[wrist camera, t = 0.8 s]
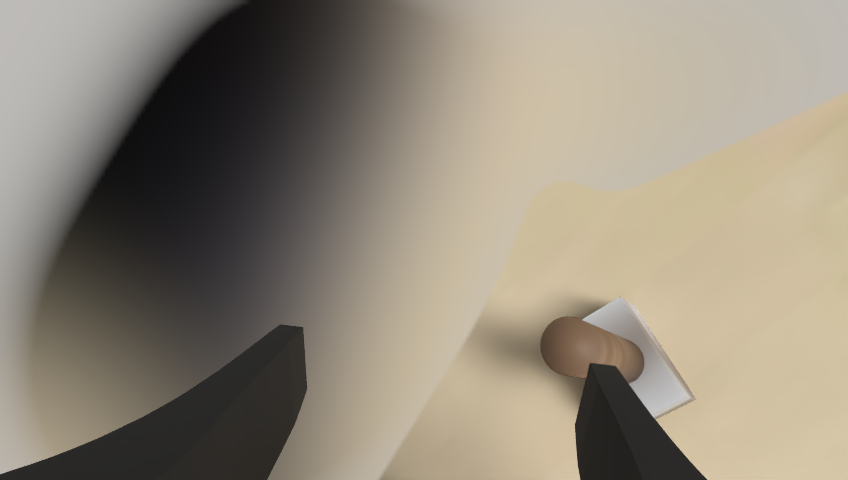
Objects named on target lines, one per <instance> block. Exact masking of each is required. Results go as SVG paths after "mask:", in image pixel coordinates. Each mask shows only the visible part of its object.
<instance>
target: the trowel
mask: <svg viewBox="0 0 848 480" xmlns="http://www.w3.org/2000/svg"><path fill="white" fill-rule="evenodd" d="M541 353H542V356H543V358H544V360H545V362H546V364H547V365H548V366H549V367H550V368H551V369H552V370H554V371H555V372H557V373H559V374H562V375H567V376H573V377H580V378H586V377H587V372H588V368H589V364H590V363H596V364H605V365H613V366H616V367H617V368H618V370H619V371H620V372H621V374H622V375H623V376H624V378H625V379H626V381H627V382H628V383H629V385H630V386H631V388H632V389H633V390H634V392H635V393H636V394H637V396H638V397H639V399H640V400H641V401H642V403H643V404H644V405H645V407H646V408H647V409H648V411H649V412H650V413H651V415H652V416H653V417H654V419H655V420H656V419H658V418H660V417H662V416H664V415H666V414H668V413H670V412H672V411H674V410H675V409H677V408H679V407H681V406H683V405H685V404H687V403H689V402H691V401H693V400H695V399H696V398H695V397H694V395H693V394H692V392H691V391H690V389H689V388H688V386H687V384H686V383H685V381H684V380H683V378H682V377H681V375H680V374H679V372H678V371H677V369H676V368H675V366H674V365H673V363H672V362H671V360H670V359H669V357H668V356H667V354H666V353H665V351H664V350H663V348H662V347H661V345H660V344H659V342H658V340H657V339H656V337H655V336H654V334H653V333H652V331H651V330H650V328H649V327H648V325H647V324H646V322H645V321H644V319H643V318H642V316H641V315H640V313H639V312H638V310H637V309H636V307H635V306H633V305H632V304H630V303H629V302H627V301H626V300H624V299H623V298H621V297H619V298H617V299H615V300H614V301H612V302H610V303H609V304H607V305H605V306H604V307H602V308H600V309H599V310H597V311H595V312H594V313H592V314H590V315H589V316H587V317H585V318H584V319H582V320H581V319H579V318H575V317H562V318H559V319H556V320H554V321H553V322H552V323H550V324H549V325H548V326H547V328H546V329H545V331H544V333H543V335H542V338H541Z"/></svg>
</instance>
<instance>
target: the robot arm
mask: <svg viewBox="0 0 848 480" xmlns="http://www.w3.org/2000/svg"><path fill="white" fill-rule="evenodd" d="M305 367H306V365H305V350H304V335H303V327H296V326H288V325H279V326H278V327H276V328H275V329H274V330H272V331H271V332H269V333H268V334H267V335H266V336H264V337H263V338H262V339H260V340H259V341H258V342H257V343H255V344H254V345H253V346H251V347H250V348H249V349H247V350H246V351H245V352H243V353H242V354H241V355H240V356H238V357H237V358H235V359H234V360H232V361H231V362H230V363H228V364H227V365H226V366H224V367H223V368H222V369H220V370H219V371H217V372H216V373H214V374H213V375H211V376H210V377H209V378H207V379H205V380H204V381H202V382H201V383H199V384H198V385H196V386H195V387H193V388H192V389H190V390H189V391H187V392H186V393H184V394H182V395H181V396H179V397H178V398H176V399H174V400H173V401H171V402H169V403H167V404H166V405H164V406H162V407H160V408H158V409H157V410H155V411H153V412H151V413H149V414H147V415H146V416H144V417H142V418H140V419H138V420H136V421H134V422H131V423H129V424H127V425H125V426H123V427H122V428H119V429H117V430H115V431H113V432H111V433H109V434H107V435H104V436H102V437H100V438H98V439H95V440H93V441H91V442H88V443H86V444H84V445H81V446H79V447H76V448H74V449H71V450H69V451H66V452H63V453H61V454H58V455H56V456H53V457H50V458H48V459H45V460H42V461H39V462H36V463H33V464H31V465H28V466H24V467H21V468H18V469H15V470H12V471H9V472H6V473H3V474H0V480H267V479H268V477H269V475H270V473H271V470H272V469H273V467H274V465H275V463H276V461H277V459H278V457H279V455H280V453H281V451H282V449H283V447H284V445H285V443H286V441H287V439H288V437H289V435H290V433H291V431H292V429H293V427H294V425H295V422H296V419H297V416H298V413H299V411H300V408H301V405H302V402H303V399H304V396H305V393H306V390H307V381H306V368H305ZM575 432H576V448H577V460H578V468H579V474H580V479H581V480H707V479H706V478H705V477H704V476H703V475H702V474H701V473H700V472H699V471H698V470H697V469H696V467H695V466H694V465H693V464H692V463H691V462H690V461H689V460H688V458H687V457H686V456H685V455H684V454H683V453H682V452H681V451H680V449H679V448H678V447H677V446H676V445H675V444H674V442H673V441H672V440H671V439H670V438H669V436H668V435H667V434H666V432H665V431H664V430H663V429H662V427H661V426H660V425H659V424H658V422H657V421H656V420H655V419H654V417H653V416H652V415H651V413H650V412H649V411H648V409H647V408H646V407H645V405H644V404H643V403H642V401H641V400H640V399H639V397H638V396H637V394H636V393H635V392H634V390H633V389H632V388H631V386H630V385H629V383H628V382H627V381H626V379H625V378H624V376H623V375H622V374H621V372H620V371H619V370H618V368H617V367H616V366H613V365H605V364H596V363H590V364H589V368H588V372H587V377H586V381H585V385H584V389H583V394H582V398H581V402H580V406H579V410H578V415H577V419H576V423H575Z"/></svg>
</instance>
